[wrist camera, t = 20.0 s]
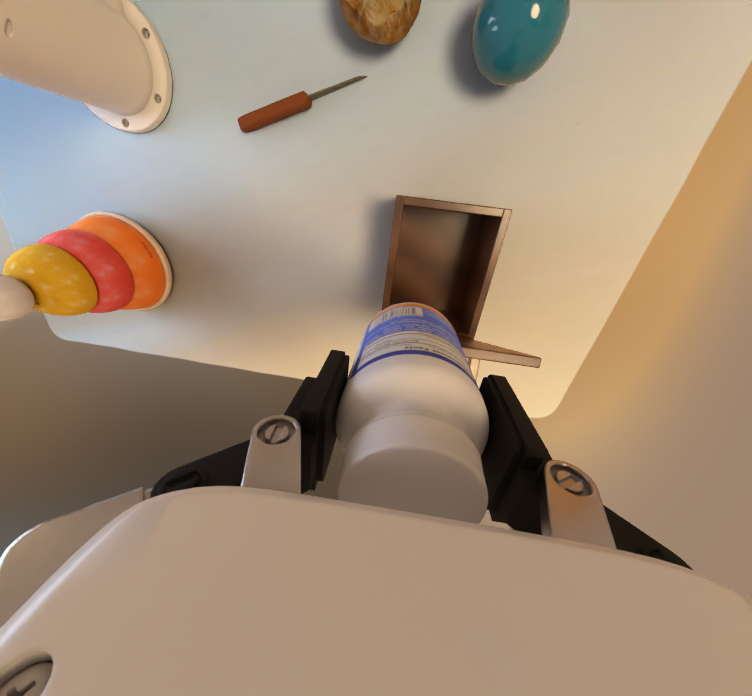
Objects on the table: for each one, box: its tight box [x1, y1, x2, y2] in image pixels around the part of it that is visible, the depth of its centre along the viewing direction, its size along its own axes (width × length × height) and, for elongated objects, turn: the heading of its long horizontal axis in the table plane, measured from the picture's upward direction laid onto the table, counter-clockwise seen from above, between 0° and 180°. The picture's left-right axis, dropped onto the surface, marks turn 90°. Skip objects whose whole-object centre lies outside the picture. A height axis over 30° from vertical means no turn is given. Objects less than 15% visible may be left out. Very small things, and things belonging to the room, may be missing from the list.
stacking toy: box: [0, 211, 172, 321], centre depth 35 cm, size 14×14×20 cm
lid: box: [458, 338, 541, 381], centre depth 27 cm, size 15×12×5 cm
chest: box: [382, 195, 512, 340], centre depth 35 cm, size 15×12×9 cm
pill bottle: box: [335, 302, 489, 524], centre depth 12 cm, size 5×5×10 cm
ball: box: [472, 0, 570, 87], centre depth 26 cm, size 8×8×8 cm
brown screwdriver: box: [238, 76, 367, 132], centre depth 32 cm, size 16×1×2 cm, turn 105°
